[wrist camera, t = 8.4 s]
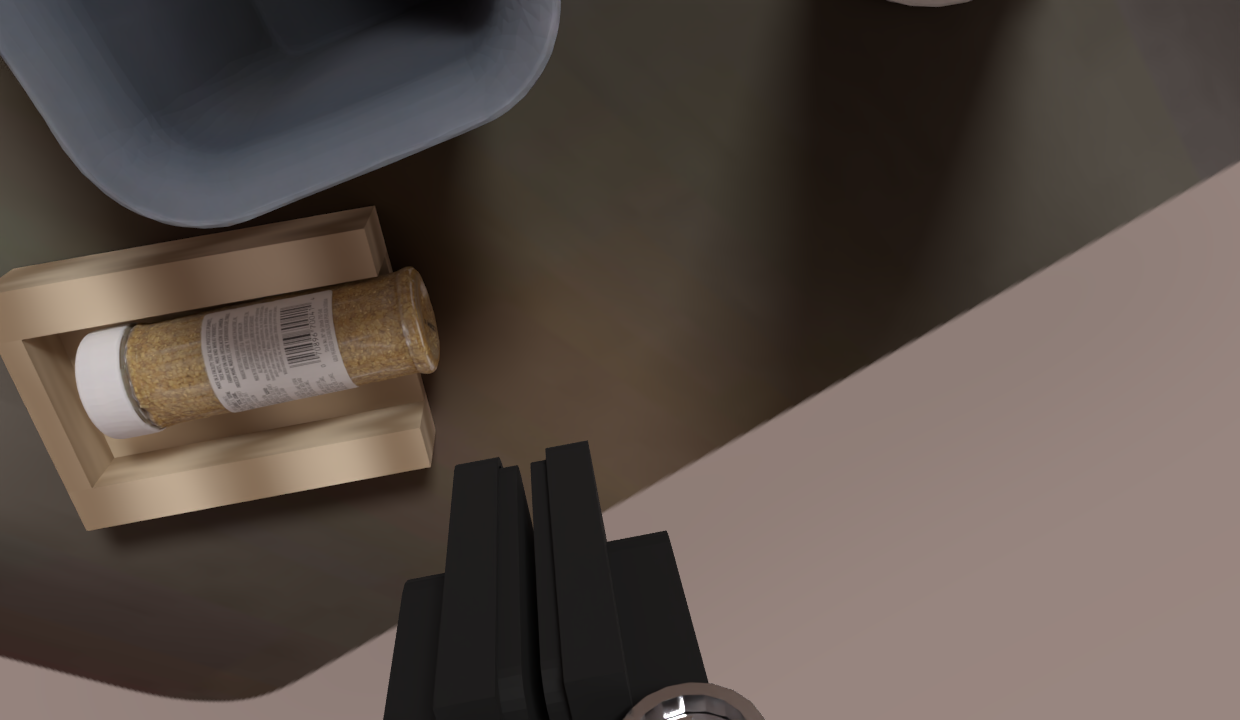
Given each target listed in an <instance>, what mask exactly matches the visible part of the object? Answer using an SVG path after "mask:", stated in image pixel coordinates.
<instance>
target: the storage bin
mask: <svg viewBox="0 0 1240 720" xmlns="http://www.w3.org/2000/svg"><path fill="white" fill-rule="evenodd" d="M560 12H561V0H0V55H1V57H2V58H3V60H4V61H5V63H6V64H7V65H8V67H9V68H10V70H11V71H12V73H13V74H14V75H15V77H16V78H17V80H18V81H19V83H20V84H21V86H22V87H23V88H24V90H25V91H26V93H27V94H28V96H29V98H30V99H31V101H32V102H33V104H34V106H35V107H36V109H37V110H38V111H39V113H40V114H41V116H42V117H43V119H44V120H45V122H46V123H47V125H48V127H49V128H50V130H51V132H52V133H53V135H54V136H55V138H56V140H57V141H58V143H59V144H60V146H61V147H62V149H63V150H64V151H65V153H66V154H67V155H68V156H69V158H70V159H71V160H72V161H73V163H74V164H75V165H76V166H77V168H78V169H79V170H80V171H81V173H82V174H83V175H84V176H86V177H87V178H88V179H89V180H90V181H91V182H92V183H93V184H94V185H96V186H97V187H98V188H99V189H100V190H101V191H102V192H103V193H104V194H106V195H107V196H109V197H110V198H112V199H113V200H114V201H116V202H117V203H119V204H120V205H122V206H124V207H125V208H127V209H129V210H131V211H133V212H135V213H137V214H139V215H141V216H144V217H147V218H150V219H153V220H156V221H158V222H161V223H164V224H169V225H173V226H180V227H190V228H204V229H206V228H216V227H227V226H231V225H235V224H238V223H242V222H245V221H248V220H251V219H253V218H256V217H258V216H261V215H263V214H266V213H268V212H270V211H273V210H275V209H278V208H280V207H283V206H285V205H288V204H290V203H293V202H295V201H298V200H300V199H302V198H305V197H308V196H310V195H313V194H315V193H318V192H320V191H323V190H325V189H328V188H330V187H333V186H335V185H338V184H341V183H343V182H346V181H348V180H351V179H353V178H356V177H358V176H361V175H363V174H366V173H368V172H371V171H374V170H376V169H379V168H381V167H384V166H386V165H389V164H391V163H394V162H396V161H398V160H401V159H403V158H406V157H408V156H410V155H413V154H415V153H418V152H420V151H423V150H425V149H427V148H430V147H432V146H435V145H437V144H439V143H442V142H444V141H447V140H449V139H452V138H454V137H456V136H459V135H461V134H464V133H466V132H468V131H470V130H473V129H475V128H477V127H480V126H482V125H484V124H486V123H489V122H491V121H493V120H495V119H496V118H498V117H499V116H501V115H503V114H504V113H506V112H507V111H509V110H510V109H511V108H512V107H513V106H514V105H515V104H517V103H518V102H519V101H520V100H521V99H522V98H523V97H524V96H525V95H526V94H527V93H528V92H529V90H530V89H531V88H532V87H533V86H534V84H535V83H536V82H537V80H538V78H539V77H540V75H541V73H542V72H543V70H544V68H545V66H546V64H547V62H548V60H549V58H550V56H551V54H552V51H553V47H554V43H555V40H556V36H557V32H558V27H559V20H560Z"/></svg>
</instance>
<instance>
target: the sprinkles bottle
mask: <svg viewBox="0 0 1240 720" xmlns="http://www.w3.org/2000/svg"><path fill="white" fill-rule="evenodd" d="M439 356H440V342H439V336H438V331H437V325H436V320H435V315H434V311H433V308H432V305H431V302H430V299H429V295H428V292H427V289H426V287H425V284H424V282H423V280H422V278H421V276H420V274H419V272H418V271H417V270H415V269H414V268H413V267H404V268H401V269H400V270H398V271H396V272H393V273H389V274H385V275H378V277H372V278H366V279H361V280H355V281H350V282H344V283H340V284H333V285H327V286H321V287H316V288H310V289H305V290H299V291H293V292H288V293H282V294H276V295H271V296H267V297H262V298H260V299H258V300H256V301H252V302H247V303H241V304H237V305H232V306H227V307H223V308H218V309H214V310H210V311H205V312H200V313H194V314H191V315H187V316H181V317H178V318H173V319H169V320H164V321H158V322H154V323H145V322H144V323H135V322H130V323H125V324H121V325H116V326H112V327H108V328H104V329H100V330H96V331H93V332H91V333H89V334H87V335H86V336H85V337H84V338H83V340H82V341H81V343H80V345H79V347H78V349H77V353H76V360H75V378H76V384H77V389H78V393H79V396H80V399H81V402H82V404H83V407H84V409H85V411H86V413H87V415H88V416H89V418H90V419H91V421H92V422H93V424H94V425H95V426H96V427H97V428H98V429H99V430H100V431H101V432H102V433H104V434H105V435H107V436H109V437H111V438H115V439H127V438H132V437H138V436H143V435H148V434H153V433H157V432H160V431H163V430H164V429H166V428H167V427H169V426H173V425H175V424H178V423H182V422H187V421H192V420H195V419H202V418H208V417H210V416H213V415H220V414H225V413H230V412H234V413H236V412H242V411H246V410H251V409H255V408H260V407H265V406H269V405H274V404H279V403H284V402H289V401H293V400H298V399H303V398H308V397H313V396H318V395H323V394H328V393H333V392H337V391H342V390H347V389H352V388H357V387H359V386H361V385H363V384H368V383H371V382H379V381H383V380H387V379H392V378H397V377H400V376H406V375H411V374H415V373H424V374H429V373H433V372H434V371H435V370H436V369H437V366H438V362H439Z"/></svg>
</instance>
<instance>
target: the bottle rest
mask: <svg viewBox="0 0 1240 720" xmlns="http://www.w3.org/2000/svg"><path fill="white" fill-rule="evenodd" d="M389 273H393V271H392V267H391V263H390V260H389V256H388V252H387V249H386V245H385V241H384V238H383V234H382V230H381V226H380V223H379V219H378V215H377V212H376V208H375V206H369V207H363V208H357V209H352V210H346V211H340V212H334V213H329V214H323V215H317V216H312V217H306V218H300V219H294V220H289V221H283V222H277V223H272V224H266V225H260V226H254V227H249V228H243V229H237V230H231V231H226V232H220V233H214V234H209V235H203V236H197V237H191V238H186V239H180V240H174V241H169V242H163V243H157V244H151V245H146V246H140V247H134V248H128V249H123V250H117V251H111V252H106V253H100V254H94V255H88V256H83V257H77V258H71V259H66V260H60V261H54V262H48V263H43V264H37V265H31V266H25V267H20V268H14V269H12V270H11V271H9V272H8V273H7V274H5V275H4V276H2V277H1V278H0V355H1V357H2V359H3V361H4V363H5V365H6V367H7V369H8V371H9V373H10V375H11V377H12V379H13V381H14V383H15V385H16V388H17V390H18V392H19V394H20V396H21V398H22V400H23V402H24V404H25V406H26V408H27V410H28V412H29V414H30V416H31V418H32V420H33V422H34V424H35V426H36V428H37V430H38V432H39V434H40V436H41V438H42V440H43V443H44V445H45V447H46V449H47V451H48V453H49V455H50V457H51V459H52V461H53V463H54V465H55V467H56V469H57V471H58V473H59V475H60V477H61V479H62V481H63V483H64V485H65V487H66V489H67V491H68V493H69V495H70V497H71V500H72V502H73V504H74V506H75V508H76V510H77V512H78V514H79V516H80V518H81V520H82V522H83V524H84V526H85V528H86V530H87V531H90V530H95V529H100V528H106V527H111V526H117V525H122V524H127V523H133V522H138V521H143V520H149V519H154V518H159V517H165V516H170V515H175V514H181V513H186V512H192V511H197V510H202V509H208V508H213V507H218V506H224V505H229V504H234V503H240V502H245V501H251V500H256V499H261V498H267V497H272V496H277V495H283V494H288V493H293V492H299V491H304V490H309V489H315V488H320V487H326V486H331V485H336V484H342V483H347V482H352V481H358V480H363V479H368V478H374V477H379V476H385V475H390V474H395V473H401V472H406V471H411V470H417V469H422V468H427V467H431V462H432V454H433V447H434V439H435V432H436V429H435V425H434V422H433V418H432V414H431V411H430V407H429V403H428V400H427V396H426V392H425V389H424V385H423V381H422V378H421V374H420V373H415V374H411V375H406V376H400V377H397V378H392V379H387V380H383V381H379V382H371V383H368V384H363V385H361V386H359V387H357V388H352V389H347V390H342V391H337V392H333V393H328V394H323V395H318V396H313V397H308V398H303V399H298V400H293V401H289V402H284V403H279V404H274V405H269V406H265V407H260V408H255V409H251V410H246V411H242V412H236V413H234V412H230V413H225V414H220V415H213V416H210V417H208V418H202V419H195V420H192V421H187V422H182V423H178V424H175V425H173V426H169V427H167V428H166V429H164V430H163V431H160V432H157V433H153V434H148V435H143V436H138V437H132V438H127V439H115V438H111V437H109V436H107V435H105V434H104V433H102V432H101V431H100V430H99V429H98V428H97V427H96V426H95V425H94V424H93V422H92V421H91V419H90V418H89V416H88V415H87V413H86V411H85V409H84V407H83V404H82V402H81V399H80V396H79V393H78V389H77V384H76V378H75V360H76V353H77V349H78V347H79V345H80V343H81V341H82V340H83V338H84V337H85V336H86V335H87V334H89V333H91V332H93V331H96V330H100V329H104V328H108V327H112V326H116V325H121V324H125V323H130V322H135V323H144V322H145V323H154V322H158V321H164V320H169V319H173V318H178V317H181V316H187V315H191V314H194V313H200V312H205V311H210V310H214V309H218V308H223V307H227V306H232V305H237V304H241V303H247V302H252V301H256V300H258V299H260V298H262V297H267V296H271V295H276V294H282V293H288V292H293V291H299V290H305V289H310V288H316V287H321V286H327V285H333V284H340V283H344V282H350V281H355V280H361V279H366V278H372V277H378V275H385V274H389Z"/></svg>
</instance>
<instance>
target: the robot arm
mask: <svg viewBox="0 0 1240 720" xmlns="http://www.w3.org/2000/svg"><path fill="white" fill-rule="evenodd" d="M886 1H889V2H895V3H900V4H905V5H909V6H929V7H941V6H947V5H953V4H959V3H965V2H969V1H972V0H886ZM545 450H546V460H543V461H538V462H532V463H531V484H532V504H533V524H534V530H533V526H532V522H531V517H530V513H529V509H528V504H527V500H526V496H525V491H524V487H523V483H522V478H521V474H520V470H519V467H518V465H516V466H511V467H506V468H503V466H502V463H501V460H500V458H499V457H497V458H492V459H486V460H481V461H475V462H470V463H465V464H459V465H456V466H455V470H454V480H453V491H452V502H451V513H450V524H449V535H448V546H447V557H446V568H445V573H442V574H437V575H431V576H426V577H421V578H416V579H410V580H408V581H407V582H406V583H405V585H404V589H403V593H402V600H401V607H400V613H399V620H398V626H397V633H396V640H395V647H394V653H393V659H392V666H391V672H390V679H389V686H388V692H387V699H386V705H385V712H384V718H383V720H765V719H764V717H763V716H762V715H761V713H760V712H759V711H758V710H757V709H756V707H755V706H754V705H753V703H752V702H751V701H749V700H748V699H746V698H745V697H743V696H742V695H740V694H739V693H737V692H736V691H734V690H731V689H728V688H725V687H721V686H719V685H715V684H712V683H711V684H710V683H708V679H707V676H706V672H705V668H704V664H703V661H702V657H701V653H700V650H699V646H698V642H697V639H696V635H695V631H694V628H693V624H692V620H691V616H690V613H689V609H688V605H687V602H686V598H685V594H684V591H683V587H682V583H681V580H680V576H679V572H678V568H677V565H676V561H675V557H674V554H673V550H672V546H671V543H670V539H669V536H668V533H667V531H662V532H656V533H652V534H646V535H641V536H636V537H630V538H625V539H620V540H614V541H610V542H607V539H606V534H605V529H604V524H603V518H602V513H601V508H600V502H599V497H598V492H597V487H596V481H595V476H594V471H593V465H592V460H591V455H590V450H589V445H588V441H583V442H577V443H572V444H567V445H561V446H556V447H550V448H546V449H545Z"/></svg>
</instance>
